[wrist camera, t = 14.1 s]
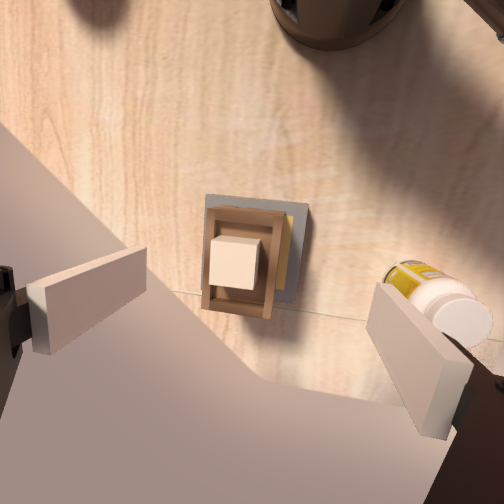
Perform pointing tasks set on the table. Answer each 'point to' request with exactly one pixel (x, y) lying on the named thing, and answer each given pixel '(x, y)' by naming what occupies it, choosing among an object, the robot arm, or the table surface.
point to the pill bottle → (442, 301)
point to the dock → (289, 242)
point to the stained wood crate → (270, 233)
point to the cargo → (234, 262)
